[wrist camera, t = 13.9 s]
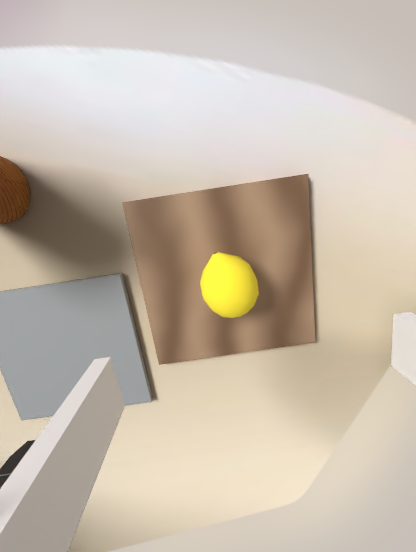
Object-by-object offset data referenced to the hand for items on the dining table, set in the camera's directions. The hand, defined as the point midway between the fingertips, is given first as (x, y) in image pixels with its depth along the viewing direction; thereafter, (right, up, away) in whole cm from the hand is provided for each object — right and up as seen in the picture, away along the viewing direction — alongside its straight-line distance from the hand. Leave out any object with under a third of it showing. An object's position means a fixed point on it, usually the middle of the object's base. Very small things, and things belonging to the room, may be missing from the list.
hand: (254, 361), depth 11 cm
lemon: (0, +4, +15) cm, 15 cm away
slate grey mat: (-18, -5, +17) cm, 25 cm away
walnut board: (0, +4, +15) cm, 16 cm away
